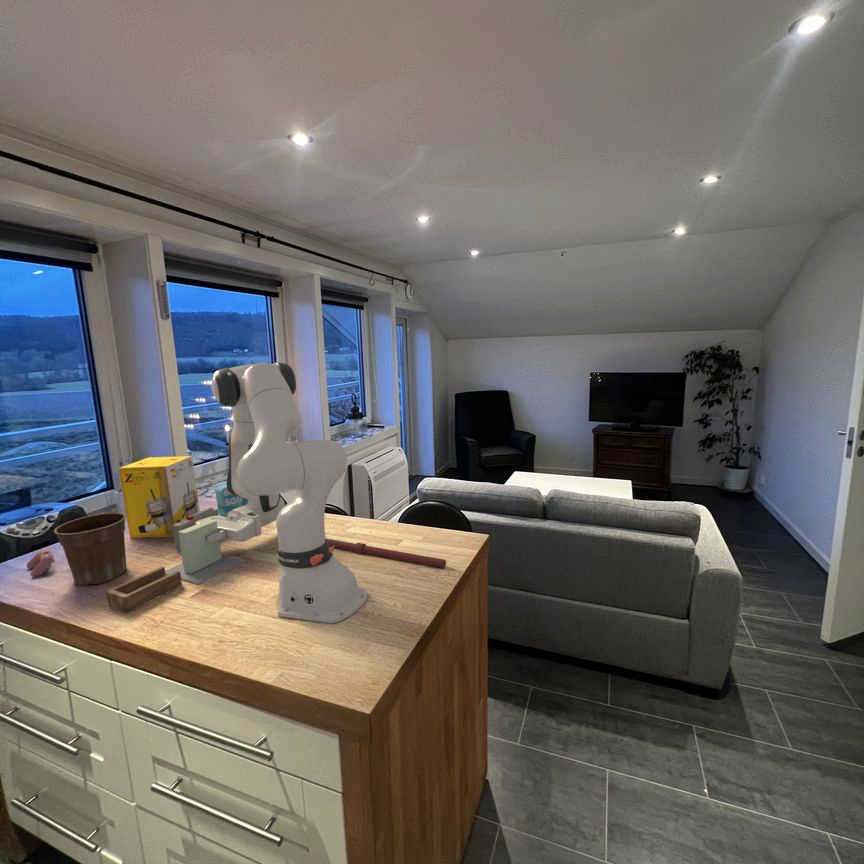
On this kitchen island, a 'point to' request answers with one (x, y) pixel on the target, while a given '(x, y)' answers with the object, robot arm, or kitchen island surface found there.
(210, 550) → the cover plate
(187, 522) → the cassette player
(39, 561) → the pink lobed lump
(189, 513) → the packaging box
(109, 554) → the plant pot
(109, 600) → the walnut box
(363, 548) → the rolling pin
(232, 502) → the teal lettered box
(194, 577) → the grey rubber mat
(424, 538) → the kitchen island surface
